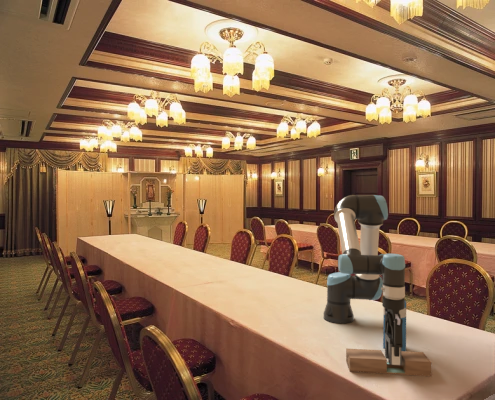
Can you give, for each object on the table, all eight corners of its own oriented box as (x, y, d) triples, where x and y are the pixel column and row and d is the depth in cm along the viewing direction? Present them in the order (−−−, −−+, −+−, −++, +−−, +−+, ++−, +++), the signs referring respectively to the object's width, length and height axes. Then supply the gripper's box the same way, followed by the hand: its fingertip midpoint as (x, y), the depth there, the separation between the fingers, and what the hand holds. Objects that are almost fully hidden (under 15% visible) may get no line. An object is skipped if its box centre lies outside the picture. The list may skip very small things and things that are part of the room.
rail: (346, 361, 138) (346, 348, 138) (422, 365, 135) (423, 352, 135) (349, 371, 130) (349, 357, 130) (431, 376, 127) (431, 362, 127)
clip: (384, 356, 135) (384, 332, 135) (395, 356, 135) (396, 332, 135) (389, 364, 129) (389, 339, 129) (401, 364, 129) (401, 339, 129)
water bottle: (400, 343, 155) (400, 285, 155) (410, 352, 146) (411, 291, 146) (378, 343, 155) (379, 285, 155) (388, 353, 146) (388, 291, 145)
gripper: (376, 289, 142) (375, 348, 142) (390, 304, 123) (389, 372, 123) (396, 290, 141) (395, 349, 141) (413, 305, 122) (412, 373, 122)
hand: (392, 359), depth 132 cm, fingers closed on clip, 6 cm apart
